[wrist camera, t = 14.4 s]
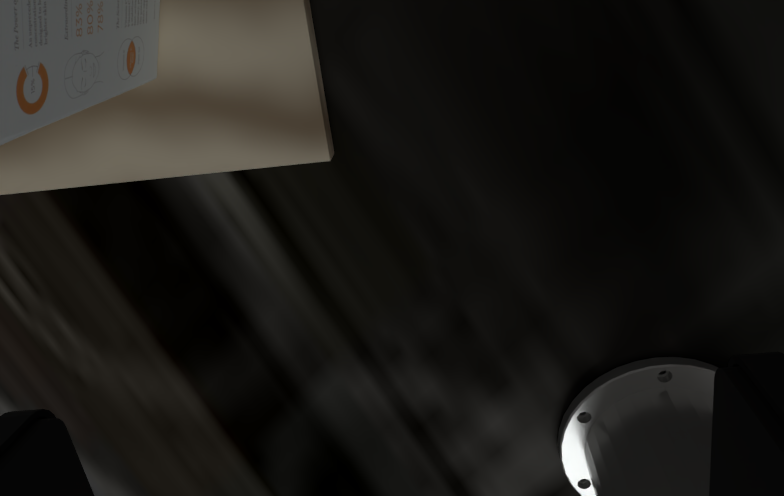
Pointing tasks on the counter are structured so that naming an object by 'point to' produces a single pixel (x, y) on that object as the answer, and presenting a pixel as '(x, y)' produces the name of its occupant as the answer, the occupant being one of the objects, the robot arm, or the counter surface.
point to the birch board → (193, 104)
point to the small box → (71, 57)
